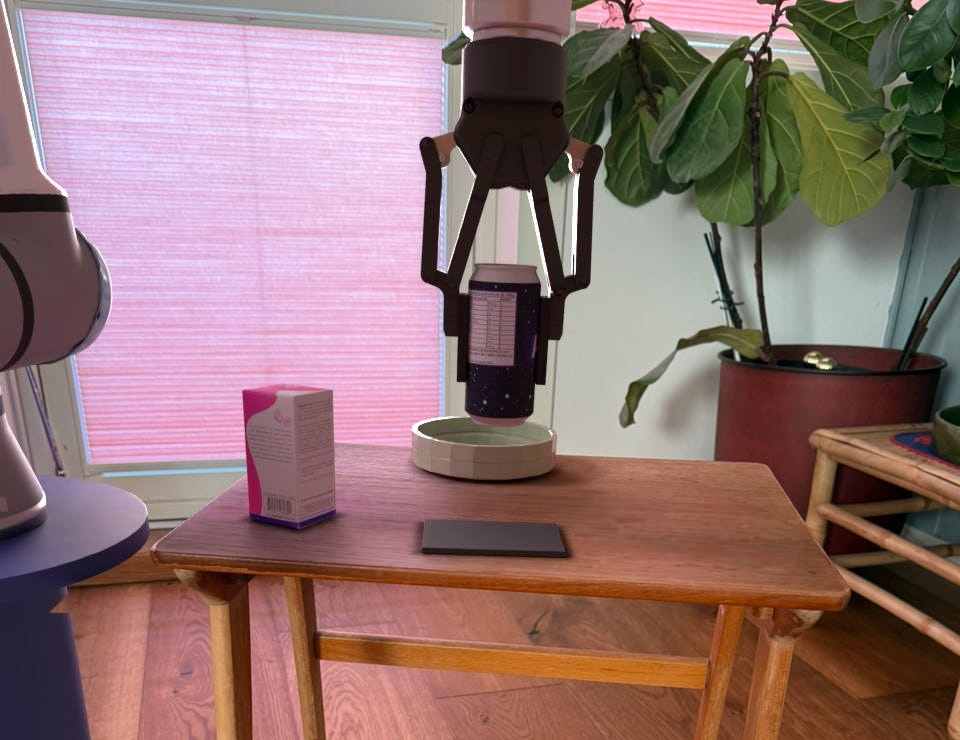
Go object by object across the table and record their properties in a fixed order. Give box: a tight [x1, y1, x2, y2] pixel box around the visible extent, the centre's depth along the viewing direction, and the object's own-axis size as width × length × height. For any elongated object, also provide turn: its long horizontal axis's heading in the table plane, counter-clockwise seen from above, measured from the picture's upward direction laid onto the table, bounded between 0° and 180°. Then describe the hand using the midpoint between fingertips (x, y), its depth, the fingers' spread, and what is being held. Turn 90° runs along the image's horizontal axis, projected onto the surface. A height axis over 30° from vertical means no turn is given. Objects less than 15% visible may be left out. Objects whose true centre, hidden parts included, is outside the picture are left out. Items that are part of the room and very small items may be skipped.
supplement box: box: [241, 383, 337, 530], centre depth 81 cm, size 6×6×12 cm
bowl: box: [411, 415, 558, 481], centre depth 103 cm, size 16×16×4 cm
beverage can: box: [464, 262, 542, 427], centre depth 72 cm, size 6×6×12 cm
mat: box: [421, 518, 567, 558], centre depth 79 cm, size 12×8×1 cm, turn 92°
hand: (500, 380), depth 74 cm, fingers closed on beverage can, 6 cm apart
